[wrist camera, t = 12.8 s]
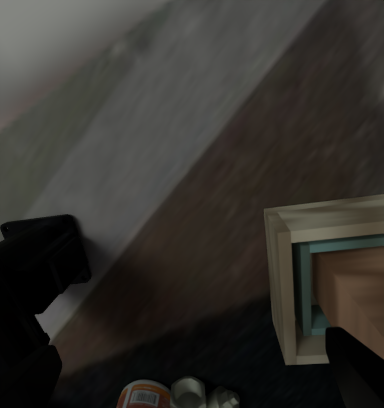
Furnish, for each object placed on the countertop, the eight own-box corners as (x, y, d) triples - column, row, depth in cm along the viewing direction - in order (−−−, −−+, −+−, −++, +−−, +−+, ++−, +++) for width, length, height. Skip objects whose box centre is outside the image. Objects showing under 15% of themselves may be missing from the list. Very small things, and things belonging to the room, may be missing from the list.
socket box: (272, 320, 23) (286, 365, 19) (263, 208, 20) (277, 232, 16) (402, 311, 22) (447, 357, 18) (415, 190, 19) (474, 211, 15)
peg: (313, 294, 21) (380, 412, 13) (311, 246, 20) (387, 342, 11) (371, 289, 21) (483, 409, 12) (374, 239, 19) (502, 335, 11)
